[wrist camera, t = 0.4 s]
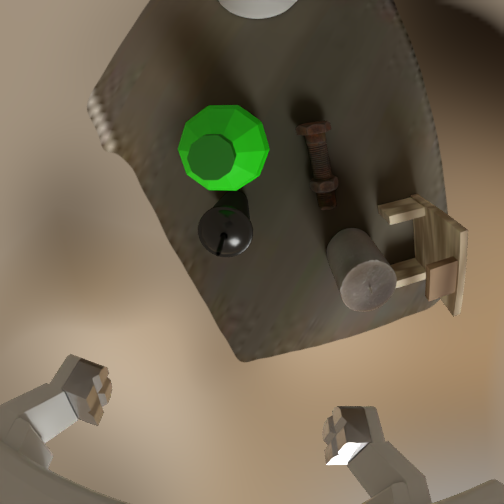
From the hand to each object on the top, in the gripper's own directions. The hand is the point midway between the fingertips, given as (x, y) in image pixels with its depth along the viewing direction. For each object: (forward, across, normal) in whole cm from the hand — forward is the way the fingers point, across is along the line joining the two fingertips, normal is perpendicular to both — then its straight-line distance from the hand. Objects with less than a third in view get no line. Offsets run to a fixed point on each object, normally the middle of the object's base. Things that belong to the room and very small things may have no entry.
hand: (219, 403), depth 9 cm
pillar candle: (+46, -20, +12) cm, 51 cm away
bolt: (+46, -10, -3) cm, 47 cm away
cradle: (+45, -31, +6) cm, 55 cm away
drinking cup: (+46, +3, +7) cm, 46 cm away
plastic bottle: (+45, +4, -5) cm, 46 cm away
